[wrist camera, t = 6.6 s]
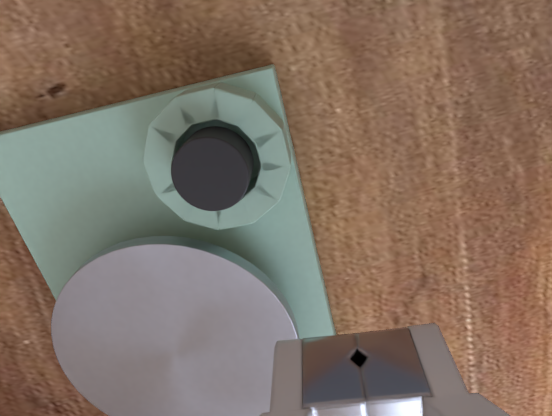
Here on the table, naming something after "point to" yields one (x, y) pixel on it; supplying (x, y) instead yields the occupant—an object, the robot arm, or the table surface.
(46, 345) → the table surface
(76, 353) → the scale pan
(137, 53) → the table surface
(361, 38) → the table surface
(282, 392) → the robot arm
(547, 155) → the table surface
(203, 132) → the tare button
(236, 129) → the scale
